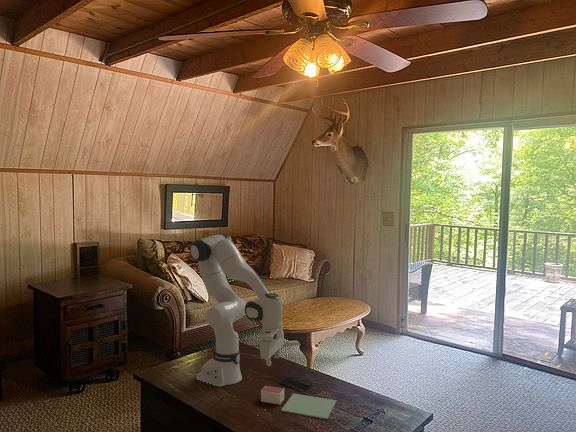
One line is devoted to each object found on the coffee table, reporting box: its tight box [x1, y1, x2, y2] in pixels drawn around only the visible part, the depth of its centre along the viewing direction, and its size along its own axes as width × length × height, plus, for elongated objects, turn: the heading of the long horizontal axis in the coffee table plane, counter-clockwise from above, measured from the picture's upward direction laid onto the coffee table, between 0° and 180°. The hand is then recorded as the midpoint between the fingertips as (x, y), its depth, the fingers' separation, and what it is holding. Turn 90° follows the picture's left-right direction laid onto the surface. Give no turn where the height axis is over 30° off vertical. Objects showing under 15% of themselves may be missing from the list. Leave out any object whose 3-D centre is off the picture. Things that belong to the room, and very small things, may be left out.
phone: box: [279, 376, 313, 393], centre depth 207 cm, size 8×1×15 cm
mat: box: [280, 393, 337, 420], centre depth 186 cm, size 20×16×1 cm
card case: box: [260, 385, 285, 405], centre depth 191 cm, size 9×6×5 cm, turn 71°
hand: (272, 361), depth 191 cm, fingers open, 8 cm apart
